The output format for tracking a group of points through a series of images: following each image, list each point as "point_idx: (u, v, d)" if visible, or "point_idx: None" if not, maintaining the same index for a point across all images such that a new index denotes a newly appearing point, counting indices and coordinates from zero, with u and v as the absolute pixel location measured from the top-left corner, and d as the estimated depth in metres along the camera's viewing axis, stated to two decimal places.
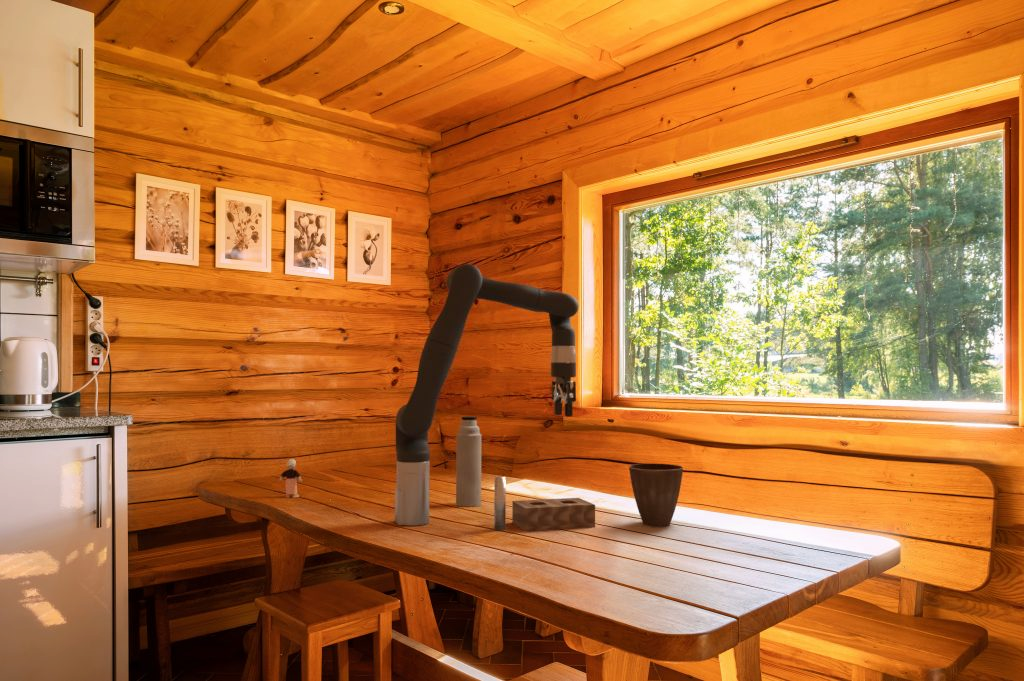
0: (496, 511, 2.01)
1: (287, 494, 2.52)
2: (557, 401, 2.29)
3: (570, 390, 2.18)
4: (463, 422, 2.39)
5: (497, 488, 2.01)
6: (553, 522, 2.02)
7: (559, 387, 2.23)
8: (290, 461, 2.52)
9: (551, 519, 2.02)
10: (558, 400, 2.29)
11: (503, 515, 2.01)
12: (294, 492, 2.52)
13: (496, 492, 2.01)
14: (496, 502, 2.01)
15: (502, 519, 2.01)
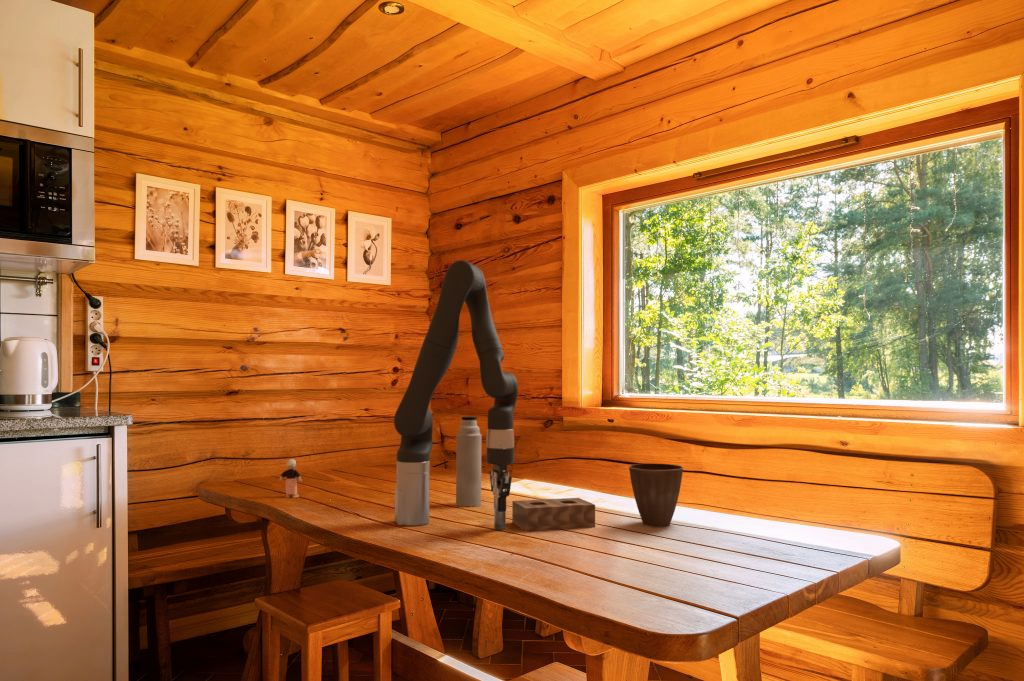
0: (496, 511, 2.01)
1: (287, 494, 2.52)
2: None
3: (504, 486, 1.97)
4: (463, 422, 2.39)
5: None
6: (553, 522, 2.02)
7: (494, 476, 2.01)
8: (290, 461, 2.52)
9: (551, 519, 2.02)
10: None
11: (503, 515, 2.01)
12: (294, 492, 2.52)
13: (496, 492, 2.01)
14: (496, 502, 2.01)
15: (502, 519, 2.01)
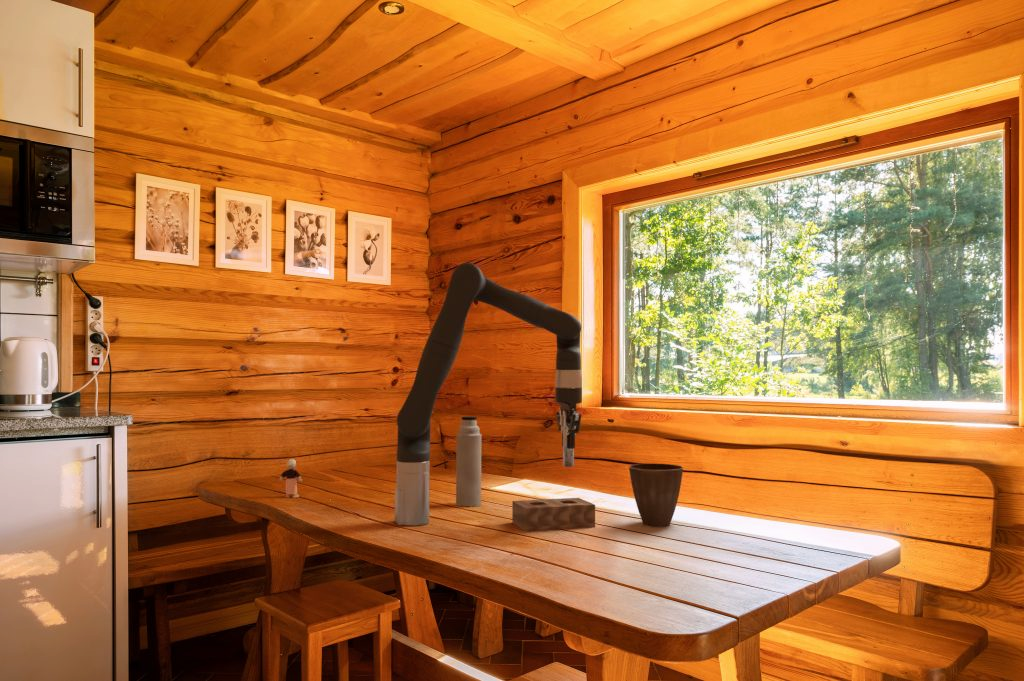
0: (565, 448, 2.10)
1: (287, 494, 2.52)
2: None
3: (574, 423, 2.06)
4: (463, 422, 2.39)
5: None
6: (553, 522, 2.02)
7: (564, 415, 2.09)
8: (290, 461, 2.52)
9: (551, 519, 2.02)
10: None
11: (572, 452, 2.10)
12: (294, 492, 2.52)
13: (565, 430, 2.10)
14: (565, 440, 2.10)
15: (571, 455, 2.09)
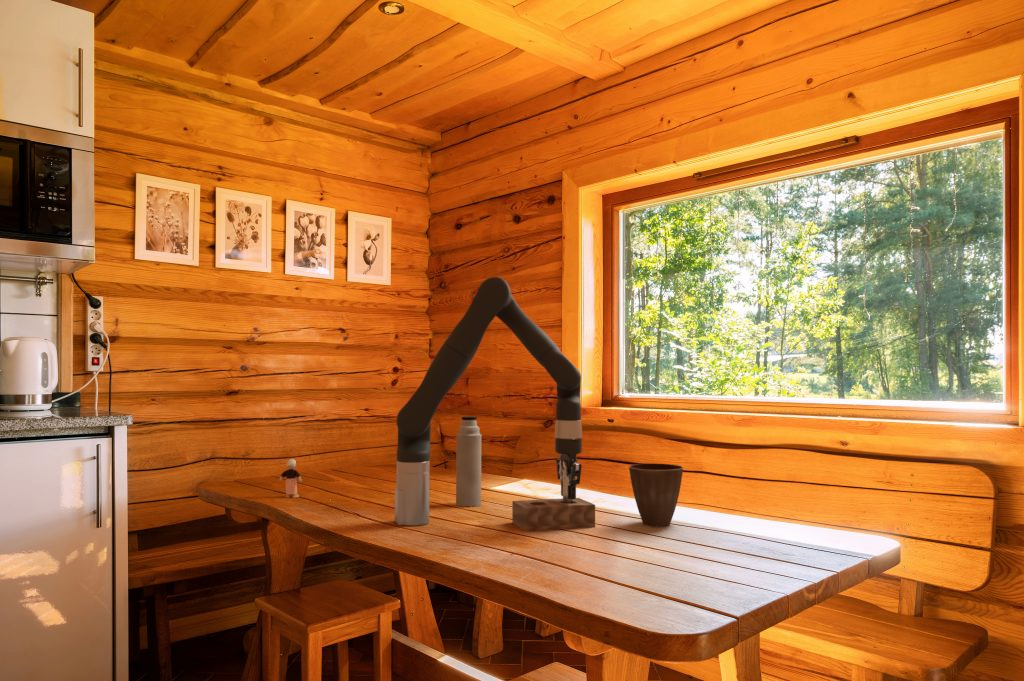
0: (565, 502, 2.09)
1: (287, 494, 2.52)
2: None
3: (575, 473, 2.05)
4: (463, 422, 2.39)
5: (565, 480, 2.09)
6: (553, 522, 2.02)
7: (564, 465, 2.08)
8: (290, 461, 2.52)
9: (551, 519, 2.02)
10: None
11: None
12: (294, 492, 2.52)
13: (565, 484, 2.10)
14: (565, 493, 2.09)
15: None
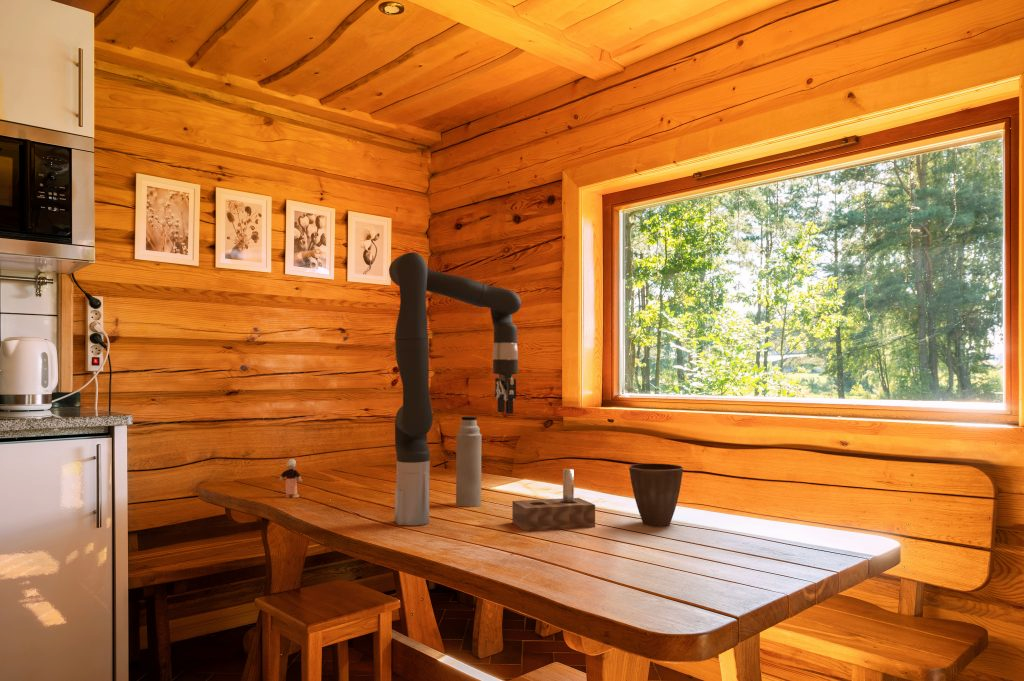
0: (565, 502, 2.09)
1: (287, 494, 2.52)
2: (500, 398, 2.28)
3: (510, 387, 2.17)
4: (463, 422, 2.39)
5: (566, 480, 2.09)
6: (553, 522, 2.02)
7: (500, 384, 2.22)
8: (290, 461, 2.52)
9: (551, 519, 2.02)
10: (501, 397, 2.28)
11: None
12: (294, 492, 2.52)
13: (565, 484, 2.09)
14: (565, 494, 2.09)
15: None
